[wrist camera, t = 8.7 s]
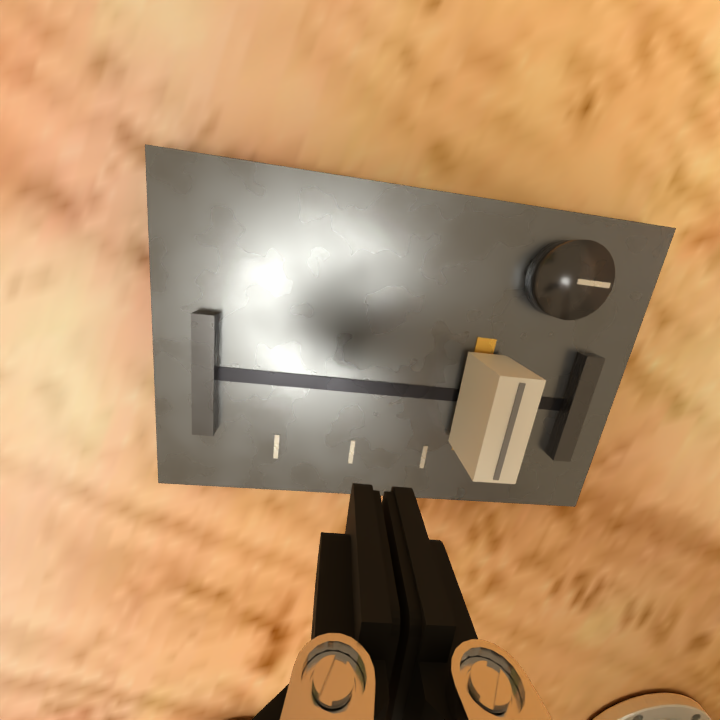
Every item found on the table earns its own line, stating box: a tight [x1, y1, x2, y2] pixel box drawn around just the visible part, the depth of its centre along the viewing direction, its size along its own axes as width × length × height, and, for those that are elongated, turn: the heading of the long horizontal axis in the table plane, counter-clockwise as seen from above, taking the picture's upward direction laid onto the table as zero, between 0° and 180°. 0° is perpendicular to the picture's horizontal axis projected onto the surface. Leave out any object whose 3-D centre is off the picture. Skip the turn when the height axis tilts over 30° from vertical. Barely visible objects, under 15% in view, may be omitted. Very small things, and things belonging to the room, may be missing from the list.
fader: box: [448, 352, 546, 484], centre depth 17 cm, size 2×5×4 cm, turn 173°
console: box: [145, 145, 676, 507], centre depth 19 cm, size 24×16×3 cm, turn 83°
